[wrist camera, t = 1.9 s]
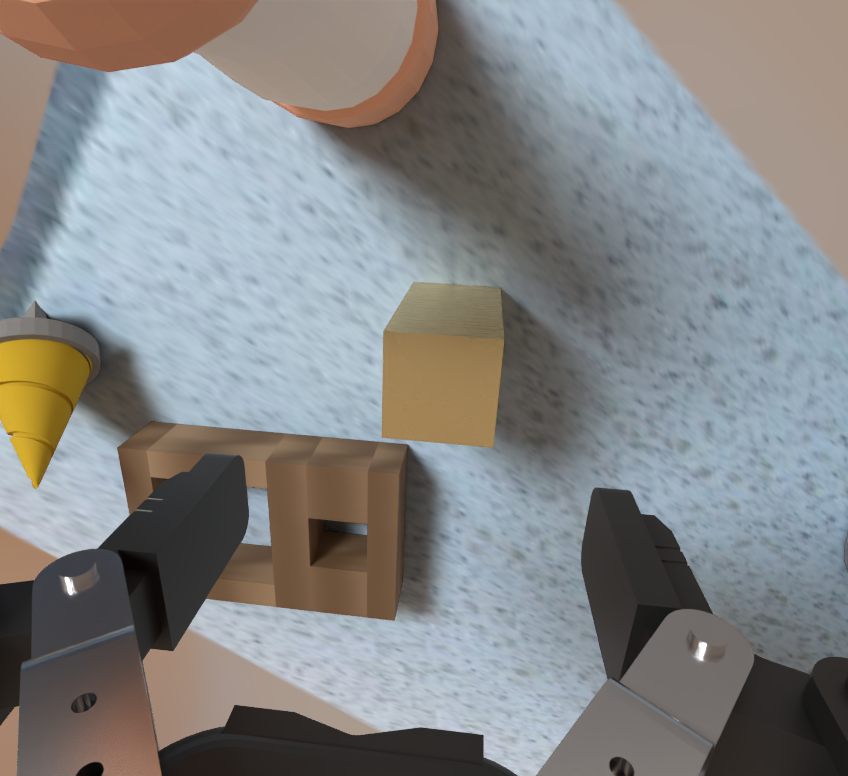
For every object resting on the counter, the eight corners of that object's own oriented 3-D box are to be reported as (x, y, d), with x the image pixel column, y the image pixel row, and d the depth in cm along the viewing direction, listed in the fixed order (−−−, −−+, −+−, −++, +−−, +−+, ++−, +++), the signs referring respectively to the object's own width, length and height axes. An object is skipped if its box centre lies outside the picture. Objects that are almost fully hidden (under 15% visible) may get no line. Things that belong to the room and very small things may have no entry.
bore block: (407, 444, 29) (399, 474, 27) (402, 581, 33) (394, 620, 30) (150, 421, 31) (117, 447, 28) (172, 556, 34) (144, 591, 31)
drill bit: (100, 274, 28) (110, 456, 24) (95, 337, 32) (103, 503, 28) (-38, 263, 25) (-55, 467, 21) (-25, 333, 29) (-36, 518, 25)
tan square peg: (500, 287, 26) (504, 339, 18) (492, 369, 27) (493, 447, 20) (413, 281, 26) (383, 330, 19) (410, 362, 28) (382, 437, 20)
